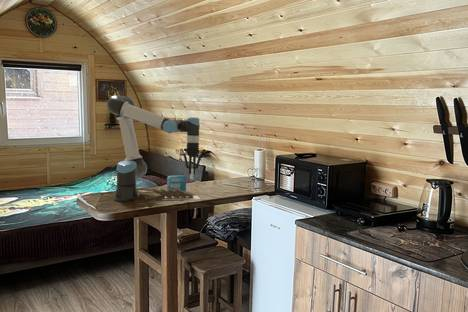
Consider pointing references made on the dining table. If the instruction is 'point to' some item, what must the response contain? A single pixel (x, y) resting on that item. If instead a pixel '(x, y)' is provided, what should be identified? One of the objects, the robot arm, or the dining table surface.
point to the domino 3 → (168, 193)
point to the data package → (176, 182)
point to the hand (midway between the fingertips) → (191, 179)
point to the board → (181, 198)
